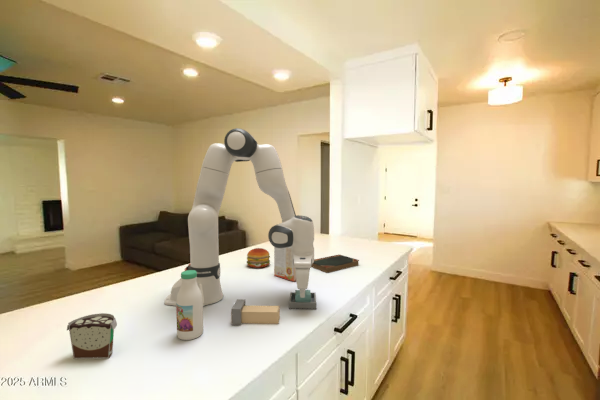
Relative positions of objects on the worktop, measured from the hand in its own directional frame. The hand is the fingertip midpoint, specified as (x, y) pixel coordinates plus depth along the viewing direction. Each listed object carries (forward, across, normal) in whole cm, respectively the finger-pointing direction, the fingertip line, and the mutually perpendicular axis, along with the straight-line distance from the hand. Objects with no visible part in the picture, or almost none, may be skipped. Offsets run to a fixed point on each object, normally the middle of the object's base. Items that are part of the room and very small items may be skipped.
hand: (302, 292), depth 114 cm
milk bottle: (+5, +24, -35) cm, 43 cm away
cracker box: (+5, -31, -8) cm, 32 cm away
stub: (+4, 0, 0) cm, 4 cm away
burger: (+5, -51, -26) cm, 57 cm away
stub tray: (+5, 0, 0) cm, 5 cm away
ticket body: (+5, +14, -16) cm, 22 cm away
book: (+5, -53, +17) cm, 55 cm away
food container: (+5, +34, -57) cm, 67 cm away
